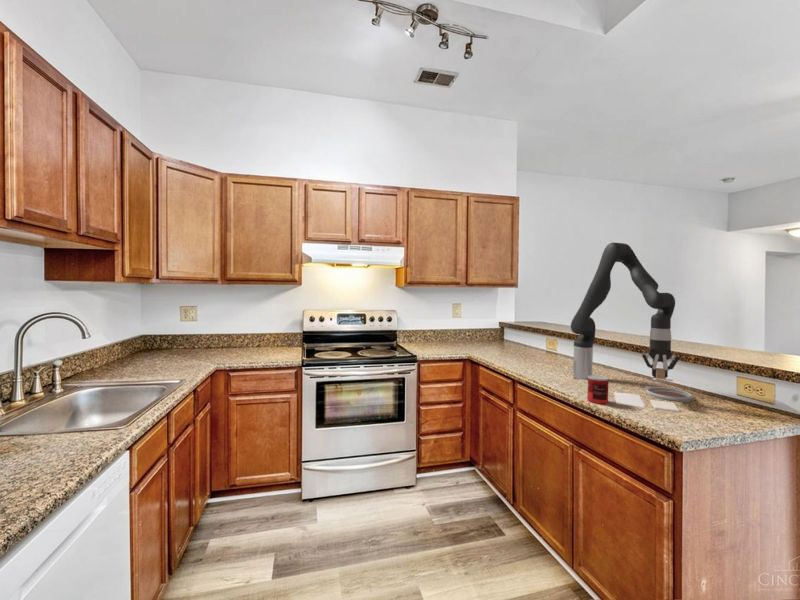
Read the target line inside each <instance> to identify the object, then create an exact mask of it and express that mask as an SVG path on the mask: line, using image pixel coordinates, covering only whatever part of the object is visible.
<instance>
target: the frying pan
mask: <svg viewBox="0 0 800 600" xmlns="http://www.w3.org/2000/svg"><path fill="white" fill-rule="evenodd" d="M637 385H638V386H639V387H638V388H639V389H641V388H645V392H646V393H647V395H649V396H650V397H654V398H656V399H661V400H664V401H665V400H666V401H669V402H672V401H673V402H682V403H688V402H691V401H692V399H693V398H694V396H693V394H691V393H690V392H688V391H685V390H680V389H676V388H669V387H663V386H662V387H660V386H651V385H644V384H642V383H641V382H639V383H638V384H637Z"/></svg>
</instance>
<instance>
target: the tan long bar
mask: <svg viewBox="0 0 800 600" xmlns="http://www.w3.org/2000/svg"><path fill="white" fill-rule="evenodd" d="M651 380H655V381H656V380H657V381H666V382H667V381H668V382H674V379H670V378H669V379H668V378H666V379H665V369H664V368H662V367H656V378H654V376H652V379H651Z"/></svg>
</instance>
